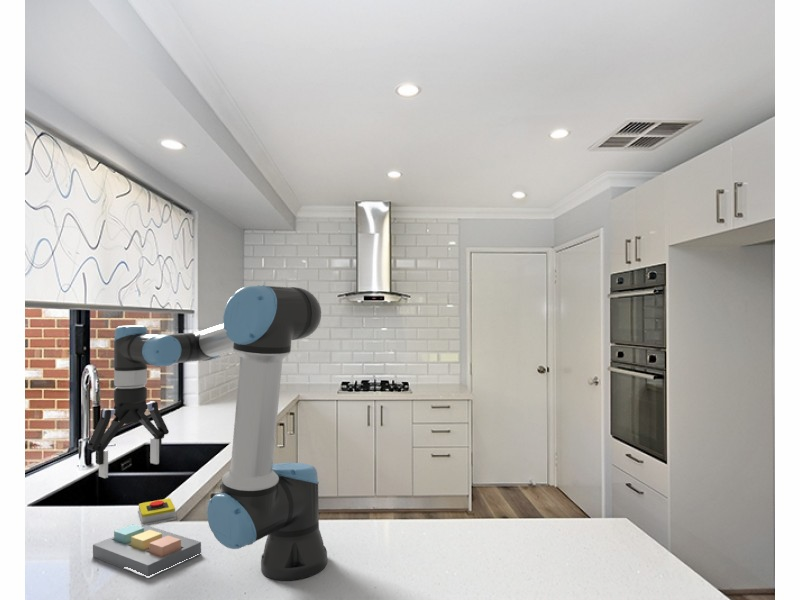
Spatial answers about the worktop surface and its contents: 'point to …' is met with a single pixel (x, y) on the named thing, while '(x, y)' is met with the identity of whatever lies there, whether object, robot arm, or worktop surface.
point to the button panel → (144, 554)
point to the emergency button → (156, 512)
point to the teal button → (127, 533)
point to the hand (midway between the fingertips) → (130, 469)
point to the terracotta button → (164, 546)
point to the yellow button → (144, 539)
